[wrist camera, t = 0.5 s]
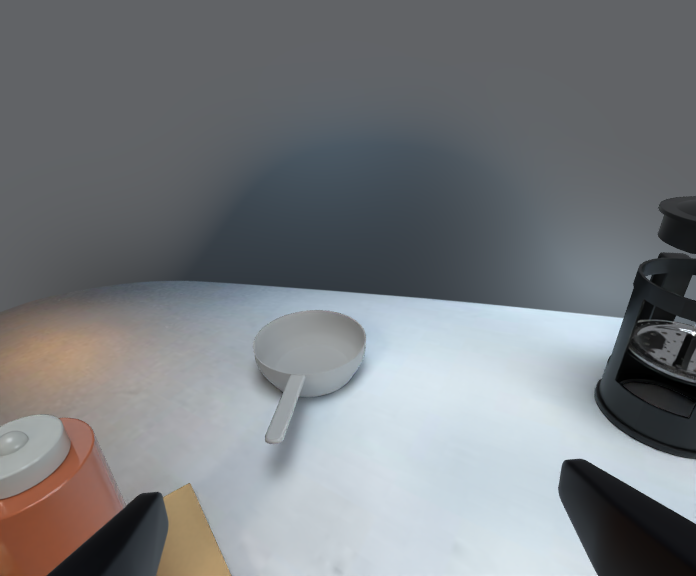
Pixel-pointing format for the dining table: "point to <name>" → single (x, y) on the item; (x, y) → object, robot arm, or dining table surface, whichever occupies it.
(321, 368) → the saucepan
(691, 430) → the french press
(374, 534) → the dining table surface
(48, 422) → the pepper mill
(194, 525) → the stand
